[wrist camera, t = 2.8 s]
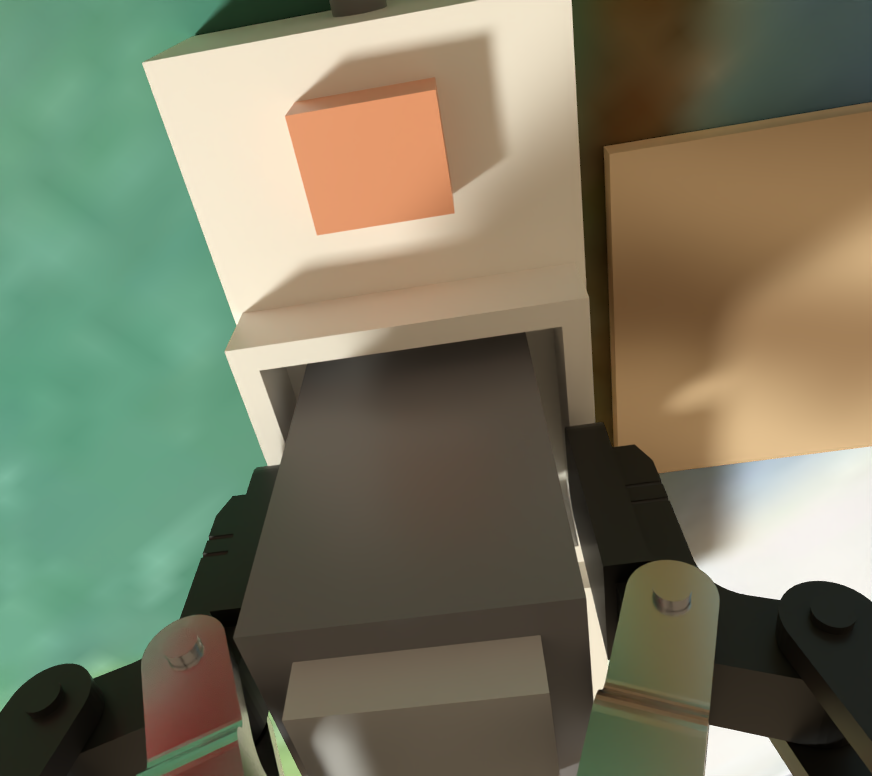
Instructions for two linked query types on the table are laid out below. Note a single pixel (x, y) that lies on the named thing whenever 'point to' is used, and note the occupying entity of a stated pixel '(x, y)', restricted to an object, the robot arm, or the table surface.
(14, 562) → the table surface
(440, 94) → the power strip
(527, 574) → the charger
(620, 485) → the robot arm
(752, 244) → the coaster
